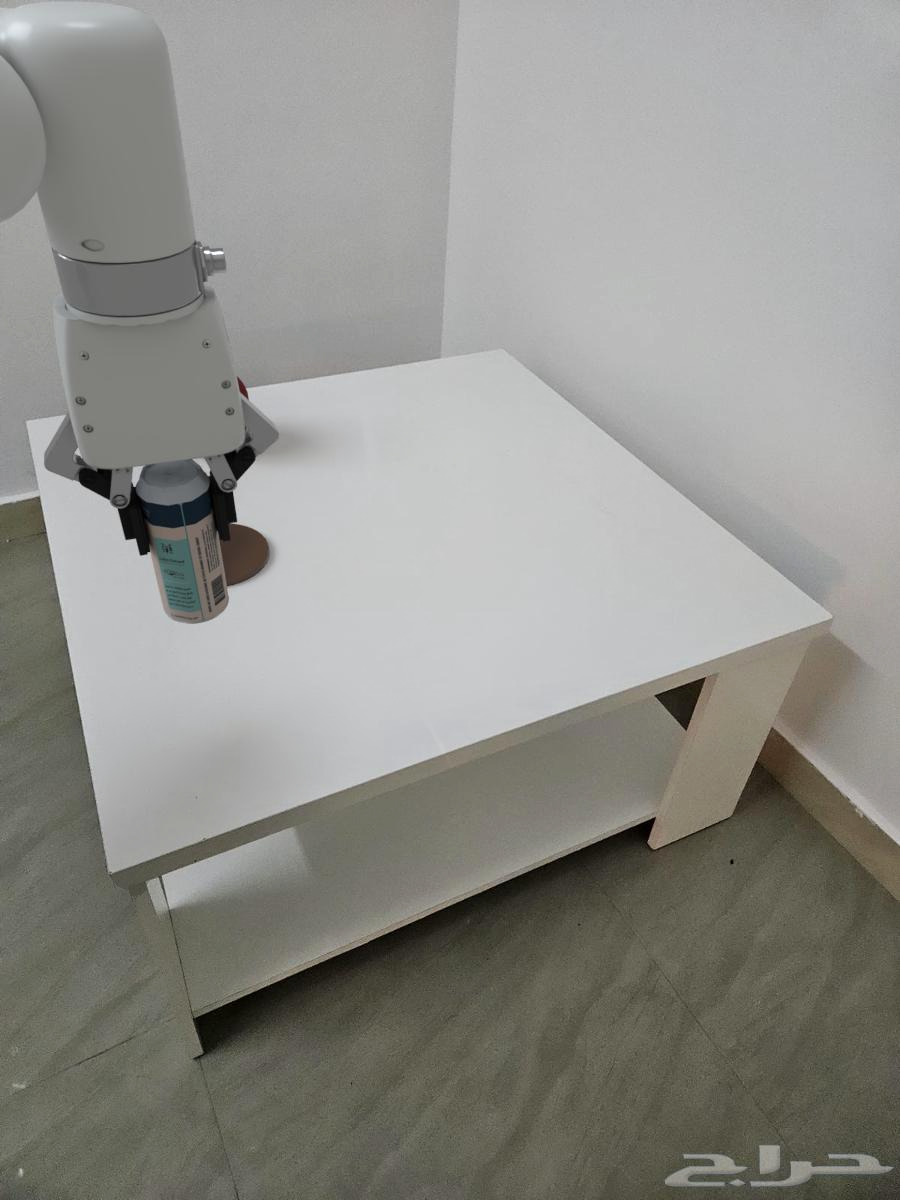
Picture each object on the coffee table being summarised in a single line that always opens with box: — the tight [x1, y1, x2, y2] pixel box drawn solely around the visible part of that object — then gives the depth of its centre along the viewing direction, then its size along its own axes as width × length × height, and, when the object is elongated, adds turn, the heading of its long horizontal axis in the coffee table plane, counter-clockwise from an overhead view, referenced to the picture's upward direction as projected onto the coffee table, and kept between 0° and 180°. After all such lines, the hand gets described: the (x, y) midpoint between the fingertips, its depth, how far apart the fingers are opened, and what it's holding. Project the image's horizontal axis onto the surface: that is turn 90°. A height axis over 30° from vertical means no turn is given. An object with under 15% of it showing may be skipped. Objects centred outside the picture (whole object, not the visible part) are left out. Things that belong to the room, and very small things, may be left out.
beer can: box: [135, 459, 230, 625], centre depth 58 cm, size 5×5×12 cm
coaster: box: [218, 523, 270, 587], centre depth 92 cm, size 11×11×1 cm
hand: (183, 534), depth 58 cm, fingers closed on beer can, 4 cm apart
